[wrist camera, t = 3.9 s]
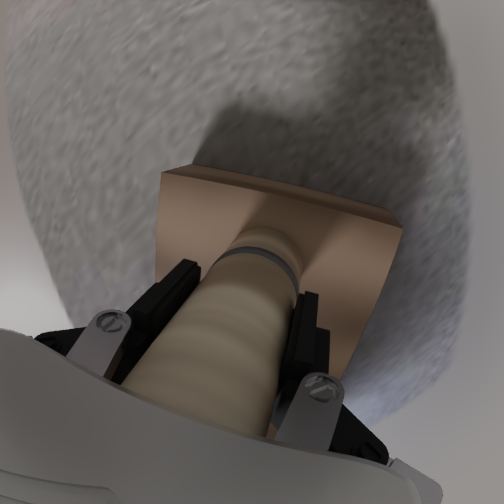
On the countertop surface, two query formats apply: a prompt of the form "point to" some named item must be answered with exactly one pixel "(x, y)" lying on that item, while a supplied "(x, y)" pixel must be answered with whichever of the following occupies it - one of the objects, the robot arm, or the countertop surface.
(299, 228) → the walnut board
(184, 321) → the maple peg
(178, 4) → the countertop surface
